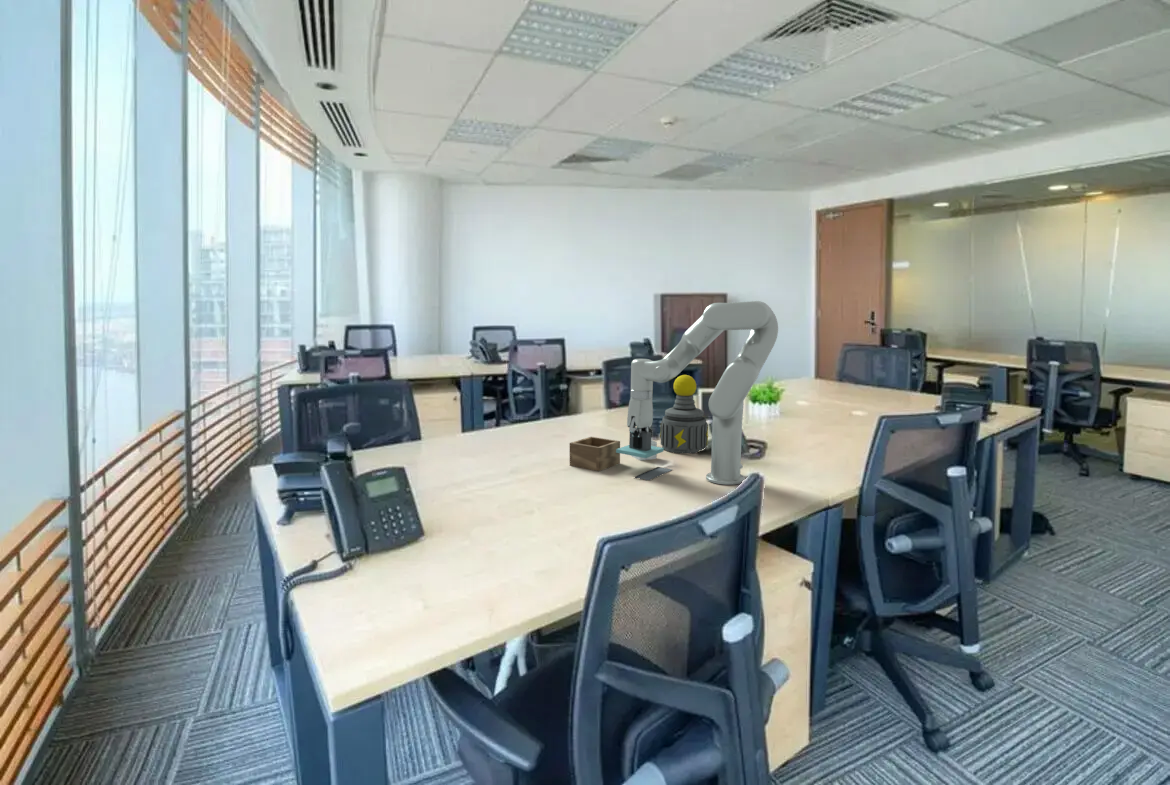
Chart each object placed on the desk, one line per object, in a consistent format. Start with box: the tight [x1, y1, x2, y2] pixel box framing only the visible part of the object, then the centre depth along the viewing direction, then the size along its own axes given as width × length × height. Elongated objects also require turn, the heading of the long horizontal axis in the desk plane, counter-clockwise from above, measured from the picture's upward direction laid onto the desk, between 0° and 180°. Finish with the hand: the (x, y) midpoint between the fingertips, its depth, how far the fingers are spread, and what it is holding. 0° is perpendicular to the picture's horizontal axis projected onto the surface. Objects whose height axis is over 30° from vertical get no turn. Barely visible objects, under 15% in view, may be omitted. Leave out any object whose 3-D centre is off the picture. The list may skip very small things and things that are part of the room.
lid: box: [616, 430, 665, 458], centre depth 216 cm, size 12×12×7 cm
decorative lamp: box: [659, 374, 709, 454], centre depth 248 cm, size 19×19×30 cm
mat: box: [634, 466, 673, 481], centre depth 217 cm, size 16×16×1 cm
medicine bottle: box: [631, 428, 658, 461], centre depth 233 cm, size 7×7×12 cm
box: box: [569, 436, 621, 472], centre depth 224 cm, size 13×13×9 cm
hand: (640, 446), depth 216 cm, fingers closed on lid, 3 cm apart
